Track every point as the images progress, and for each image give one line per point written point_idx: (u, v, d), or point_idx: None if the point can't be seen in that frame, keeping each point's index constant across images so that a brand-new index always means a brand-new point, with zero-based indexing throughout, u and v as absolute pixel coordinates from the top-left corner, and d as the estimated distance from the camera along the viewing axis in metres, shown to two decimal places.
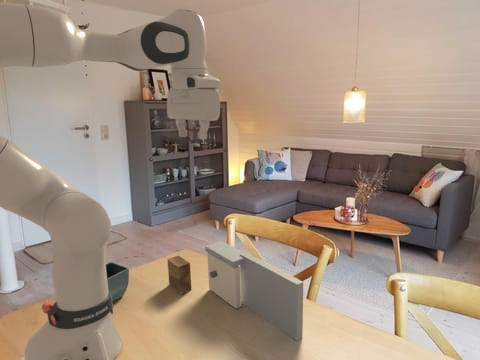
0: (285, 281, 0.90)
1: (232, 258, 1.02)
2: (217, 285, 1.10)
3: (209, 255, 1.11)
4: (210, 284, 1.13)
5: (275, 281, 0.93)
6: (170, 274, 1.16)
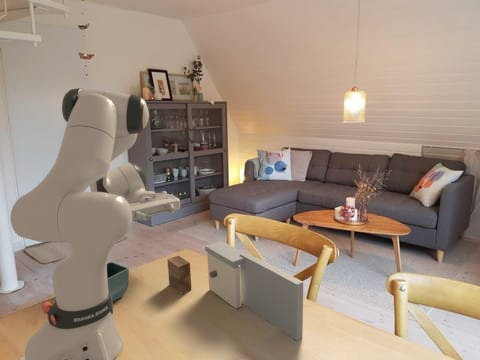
0: (285, 281, 0.90)
1: (232, 258, 1.02)
2: (217, 285, 1.10)
3: (209, 255, 1.11)
4: (210, 284, 1.13)
5: (275, 281, 0.93)
6: (170, 274, 1.16)
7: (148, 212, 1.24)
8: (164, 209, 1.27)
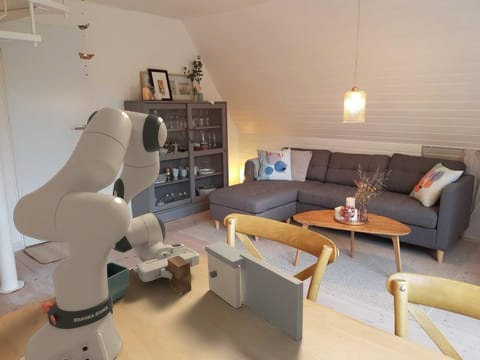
0: (285, 281, 0.90)
1: (232, 258, 1.02)
2: (217, 285, 1.10)
3: (209, 255, 1.11)
4: (210, 284, 1.13)
5: (275, 281, 0.93)
6: None
7: (167, 270, 1.18)
8: None
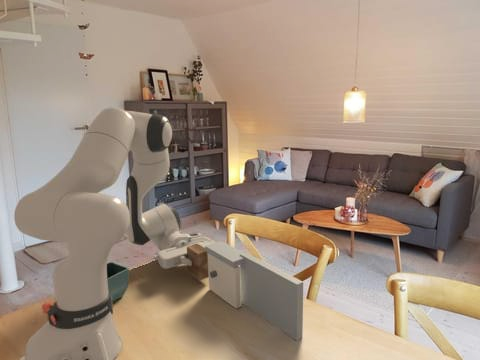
0: (285, 281, 0.90)
1: (232, 258, 1.02)
2: (217, 285, 1.10)
3: (209, 255, 1.11)
4: (210, 284, 1.13)
5: (275, 281, 0.93)
6: None
7: (186, 258, 1.21)
8: None
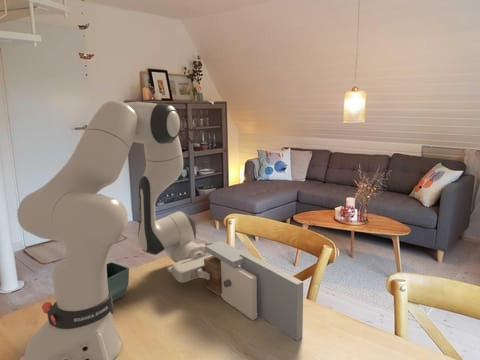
0: (285, 281, 0.90)
1: (232, 258, 1.02)
2: (231, 295, 1.04)
3: (222, 263, 1.05)
4: (224, 293, 1.08)
5: (275, 281, 0.93)
6: None
7: (203, 270, 1.13)
8: None
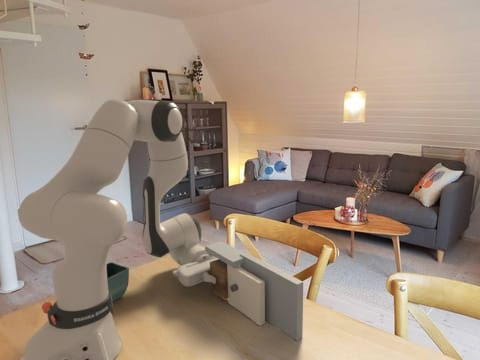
0: (285, 281, 0.90)
1: (232, 258, 1.02)
2: (238, 299, 1.02)
3: (229, 267, 1.03)
4: (230, 298, 1.05)
5: (275, 281, 0.93)
6: None
7: (209, 274, 1.11)
8: None
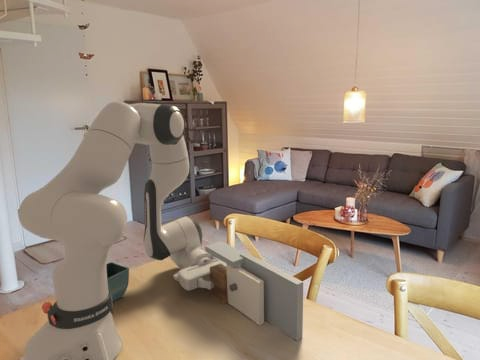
0: (285, 281, 0.90)
1: (232, 258, 1.02)
2: (237, 299, 1.02)
3: (228, 267, 1.03)
4: (229, 297, 1.05)
5: (275, 281, 0.93)
6: None
7: (209, 277, 1.11)
8: None
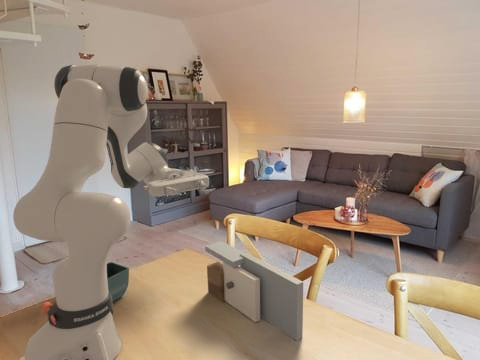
0: (285, 281, 0.90)
1: (232, 258, 1.02)
2: (234, 296, 1.03)
3: (225, 265, 1.04)
4: (226, 295, 1.07)
5: (275, 281, 0.93)
6: (210, 281, 1.11)
7: (177, 188, 1.18)
8: (193, 186, 1.22)
